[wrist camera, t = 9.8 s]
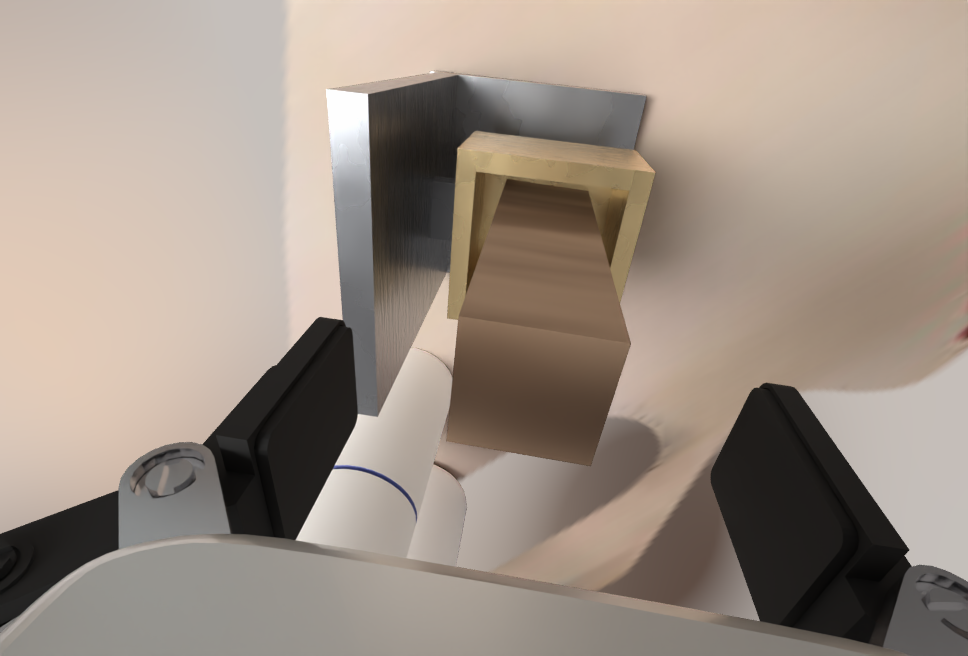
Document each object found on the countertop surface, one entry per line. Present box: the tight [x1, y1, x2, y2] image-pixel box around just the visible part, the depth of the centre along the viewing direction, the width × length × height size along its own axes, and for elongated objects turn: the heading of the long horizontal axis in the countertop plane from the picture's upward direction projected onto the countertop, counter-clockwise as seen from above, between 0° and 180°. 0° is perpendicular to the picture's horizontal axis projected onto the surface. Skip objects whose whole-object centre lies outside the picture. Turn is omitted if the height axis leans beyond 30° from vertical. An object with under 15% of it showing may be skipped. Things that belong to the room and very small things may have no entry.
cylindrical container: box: [296, 347, 453, 558], centre depth 28 cm, size 7×7×25 cm
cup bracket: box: [327, 71, 656, 417], centre depth 23 cm, size 12×12×16 cm
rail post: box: [446, 179, 631, 466], centre depth 18 cm, size 4×4×14 cm
